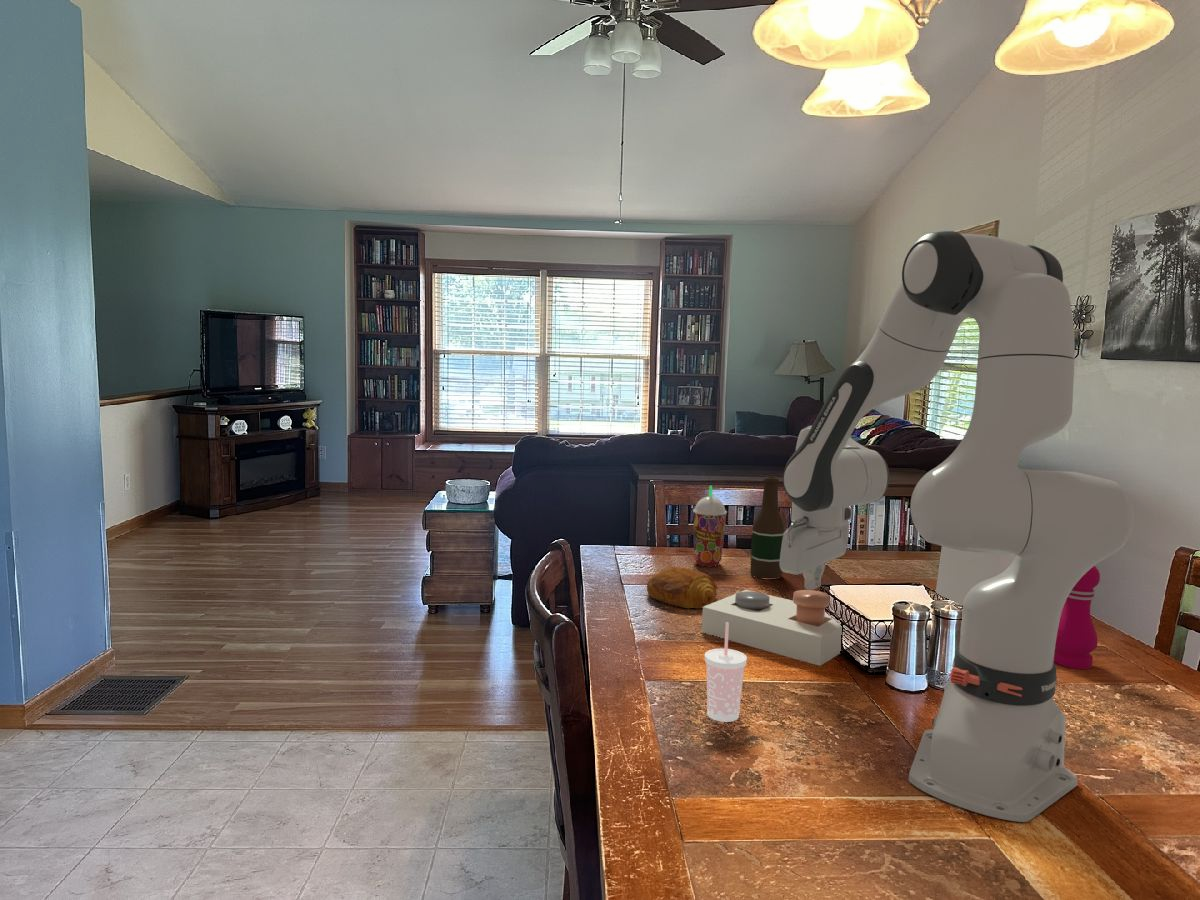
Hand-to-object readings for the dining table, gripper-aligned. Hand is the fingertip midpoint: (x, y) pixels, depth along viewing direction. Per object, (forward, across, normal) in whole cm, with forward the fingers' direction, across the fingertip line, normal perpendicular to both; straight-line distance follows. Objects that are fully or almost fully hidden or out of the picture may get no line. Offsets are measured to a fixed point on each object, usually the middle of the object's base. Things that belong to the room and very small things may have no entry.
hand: (812, 588), depth 149 cm
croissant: (+11, +7, +32) cm, 35 cm away
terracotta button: (+8, 0, 0) cm, 8 cm away
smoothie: (+12, +36, +45) cm, 58 cm away
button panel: (+11, 0, +6) cm, 12 cm away
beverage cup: (+11, -36, -4) cm, 38 cm away
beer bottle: (+11, +36, +29) cm, 48 cm away
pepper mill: (+11, +25, -38) cm, 47 cm away
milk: (+11, +37, -18) cm, 42 cm away
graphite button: (+11, 0, +12) cm, 16 cm away
